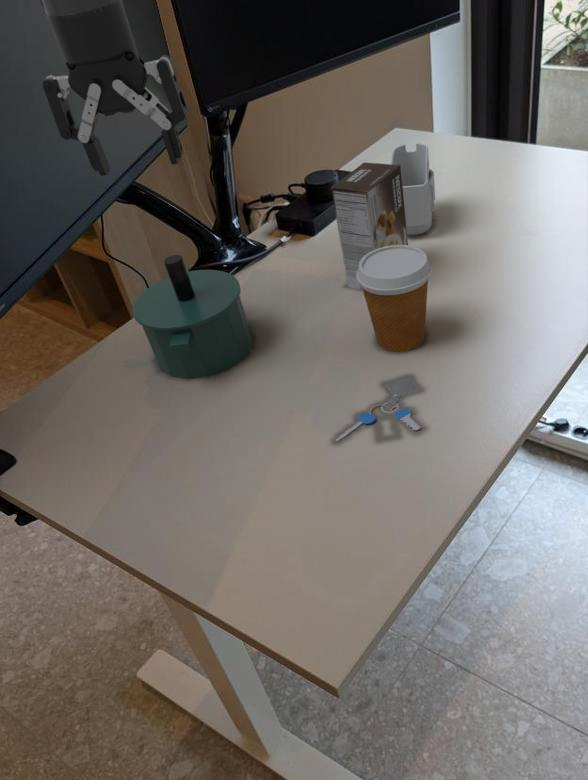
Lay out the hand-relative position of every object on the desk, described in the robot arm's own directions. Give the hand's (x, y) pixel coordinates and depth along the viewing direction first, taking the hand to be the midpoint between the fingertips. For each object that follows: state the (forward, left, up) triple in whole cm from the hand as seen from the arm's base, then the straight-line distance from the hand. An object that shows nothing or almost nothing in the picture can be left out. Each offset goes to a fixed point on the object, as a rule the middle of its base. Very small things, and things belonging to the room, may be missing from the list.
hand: (140, 167), depth 80 cm
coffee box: (+26, +14, -26) cm, 39 cm away
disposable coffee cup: (+28, -4, -26) cm, 39 cm away
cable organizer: (+33, +29, -26) cm, 51 cm away
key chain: (+26, -20, -26) cm, 42 cm away
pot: (0, 0, -26) cm, 26 cm away
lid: (0, 0, -18) cm, 18 cm away
